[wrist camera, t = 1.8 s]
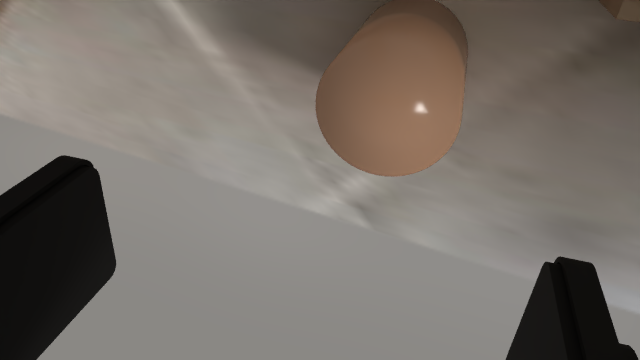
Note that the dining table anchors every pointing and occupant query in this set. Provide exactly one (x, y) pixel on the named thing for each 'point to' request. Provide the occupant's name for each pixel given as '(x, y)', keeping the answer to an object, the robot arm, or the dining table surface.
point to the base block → (623, 9)
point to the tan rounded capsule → (396, 89)
